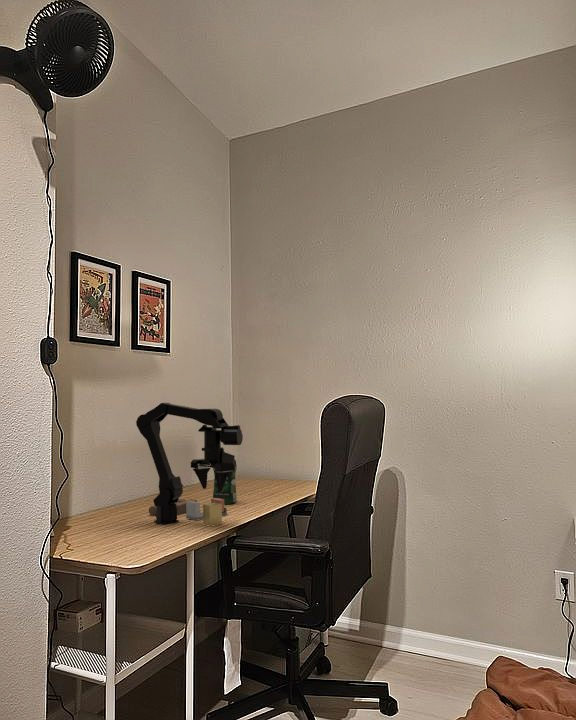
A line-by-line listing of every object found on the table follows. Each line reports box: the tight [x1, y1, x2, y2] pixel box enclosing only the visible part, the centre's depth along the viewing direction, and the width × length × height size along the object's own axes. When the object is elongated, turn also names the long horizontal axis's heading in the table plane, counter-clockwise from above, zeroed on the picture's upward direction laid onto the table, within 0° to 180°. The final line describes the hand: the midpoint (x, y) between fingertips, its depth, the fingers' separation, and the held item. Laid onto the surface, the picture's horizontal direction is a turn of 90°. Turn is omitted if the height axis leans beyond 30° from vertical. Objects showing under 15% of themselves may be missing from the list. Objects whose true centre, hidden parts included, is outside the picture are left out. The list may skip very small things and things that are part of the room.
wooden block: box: [148, 498, 198, 516], centre depth 231 cm, size 4×11×18 cm
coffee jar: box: [212, 458, 238, 505], centre depth 251 cm, size 10×8×19 cm
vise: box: [185, 501, 228, 521], centre depth 222 cm, size 14×6×6 cm, turn 133°
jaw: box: [210, 497, 225, 512], centre depth 226 cm, size 2×6×4 cm, turn 43°
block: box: [202, 502, 223, 527], centre depth 208 cm, size 5×4×7 cm
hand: (212, 490), depth 209 cm, fingers open, 9 cm apart
